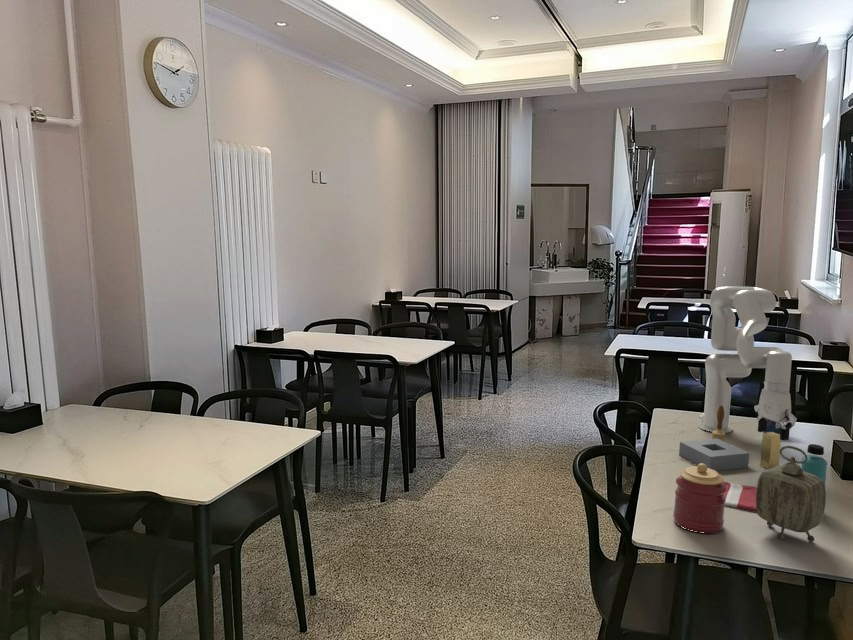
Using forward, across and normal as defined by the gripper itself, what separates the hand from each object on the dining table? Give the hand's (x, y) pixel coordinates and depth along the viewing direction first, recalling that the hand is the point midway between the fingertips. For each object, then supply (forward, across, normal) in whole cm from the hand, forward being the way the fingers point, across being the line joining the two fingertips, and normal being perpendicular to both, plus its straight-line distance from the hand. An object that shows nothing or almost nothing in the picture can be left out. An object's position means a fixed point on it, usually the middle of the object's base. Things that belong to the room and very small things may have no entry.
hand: (772, 435), depth 220 cm
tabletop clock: (+13, +42, -36) cm, 57 cm away
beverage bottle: (+13, +31, -16) cm, 37 cm away
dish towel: (+13, +16, -32) cm, 38 cm away
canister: (+13, +30, -54) cm, 63 cm away
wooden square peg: (+12, -1, 0) cm, 12 cm away
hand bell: (+11, -24, -2) cm, 26 cm away
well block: (+11, -11, -15) cm, 22 cm away
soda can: (+11, -32, +31) cm, 46 cm away
